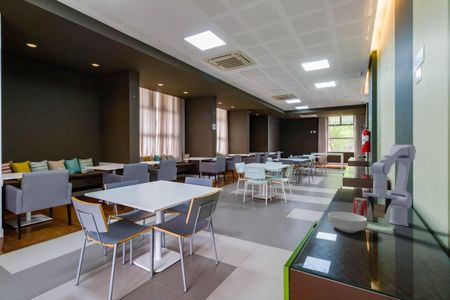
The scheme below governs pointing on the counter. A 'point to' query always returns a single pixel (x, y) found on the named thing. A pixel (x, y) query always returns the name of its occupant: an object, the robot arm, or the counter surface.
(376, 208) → the walnut block
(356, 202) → the soda can
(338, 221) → the cereal bowl
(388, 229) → the tray
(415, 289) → the counter surface
